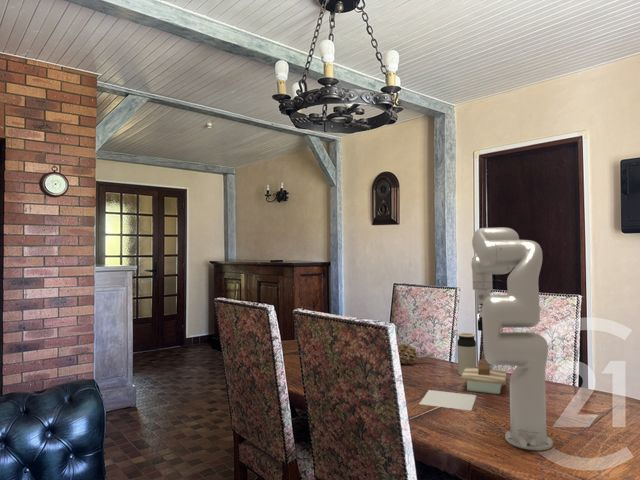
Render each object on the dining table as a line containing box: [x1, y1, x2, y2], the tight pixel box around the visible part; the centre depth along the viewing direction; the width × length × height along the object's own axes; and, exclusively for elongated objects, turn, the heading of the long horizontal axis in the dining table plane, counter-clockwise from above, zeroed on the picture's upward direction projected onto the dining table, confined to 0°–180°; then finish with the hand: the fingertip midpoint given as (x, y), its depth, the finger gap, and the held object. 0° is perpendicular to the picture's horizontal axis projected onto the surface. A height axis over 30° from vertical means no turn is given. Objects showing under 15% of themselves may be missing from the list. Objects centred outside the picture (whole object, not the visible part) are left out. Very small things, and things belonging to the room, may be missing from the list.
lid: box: [460, 359, 508, 385], centre depth 184 cm, size 16×16×6 cm
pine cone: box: [397, 343, 436, 365], centre depth 226 cm, size 22×10×10 cm, turn 90°
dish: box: [466, 381, 502, 395], centre depth 184 cm, size 12×12×5 cm
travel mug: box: [456, 332, 477, 377], centre depth 206 cm, size 8×8×18 cm
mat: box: [418, 389, 477, 412], centre depth 170 cm, size 18×18×1 cm
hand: (483, 328), depth 184 cm, fingers open, 9 cm apart
